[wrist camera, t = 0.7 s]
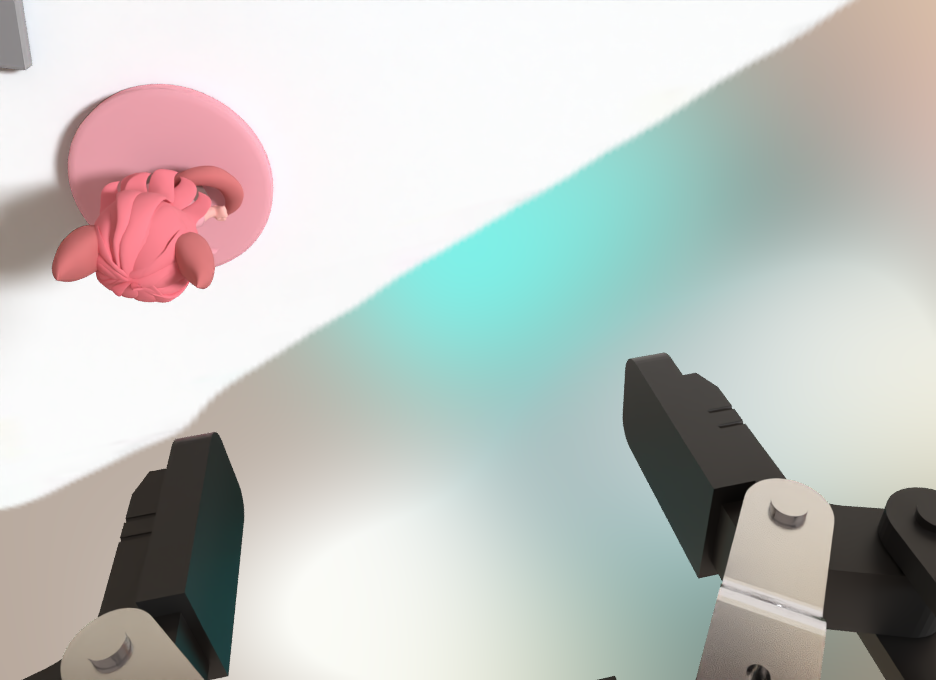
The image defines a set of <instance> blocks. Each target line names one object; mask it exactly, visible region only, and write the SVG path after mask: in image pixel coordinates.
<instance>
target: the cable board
mask: <svg viewBox="0 0 936 680" xmlns="http://www.w3.org/2000/svg"><path fill="white" fill-rule="evenodd" d="M30 66H32V60H31V53H30V47H29V40H28V34H27V27H26V21H25V14H24V8H23V2H22V0H0V67H1V68H10V69H18V70H26V69H28V68H29V67H30Z"/></svg>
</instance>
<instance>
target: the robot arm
mask: <svg viewBox="0 0 936 680" xmlns="http://www.w3.org/2000/svg"><path fill="white" fill-rule="evenodd" d="M623 426H624V431H625V436H626V439H627V442H628V445H629V447H630V449H631V451H632V453H633V454H634V456H635V458H636V460H637V462H638V464H639V466H640V468H641V470H642V472H643V474H644V476H645V478H646V479H647V481H648V483H649V485H650V487H651V489H652V491H653V493H654V495H655V496H656V498H657V500H658V502H659V504H660V506H661V508H662V510H663V512H664V514H665V516H666V518H667V519H668V521H669V523H670V525H671V527H672V529H673V531H674V533H675V535H676V536H677V538H678V540H679V542H680V544H681V546H682V548H683V550H684V552H685V554H686V556H687V558H688V559H689V561H690V563H691V565H692V567H693V569H694V571H695V572H696V575H697V577H698V578H702V577H707V576H712V575H716V574H719V576H720V578H721V580H722V584H721V586H720V589H719V593H718V596H717V600H716V604H715V608H714V612H713V615H712V619H711V623H710V627H709V631H708V635H707V639H706V643H705V646H704V650H703V654H702V658H701V662H700V666H699V669H698V673H697V677H696V680H820V677H821V668H822V660H823V652H824V644H825V635H826V629H831V630H841V631H850V632H857V634H858V635H859V637H860V639H861V640H862V642H863V643H864V645H865V647H866V648H867V650H868V651H869V653H870V655H871V656H872V658H873V660H874V661H875V663H876V664H877V666H878V668H879V669H880V671H881V673H882V674H883V676H884V677H885V679H886V680H936V490H933V489H928V488H906V489H902V490H900V491H897V492H895V493H894V494H892V495H891V496H890V498H889V499H888V501H887V504H886V506H885V509H880V508H866V507H852V506H840V505H833V504H829V503H828V502H827V501H826V500H825V498H824V497H823V496H822V495H821V494H819V493H818V492H817V491H815V490H814V489H812V488H810V487H809V486H807V485H804V484H802V483H799V482H796V481H793V480H788V479H786V478H785V476H784V475H783V474H782V472H781V471H780V470H779V468H778V467H777V466H776V464H775V463H774V462H773V460H772V459H771V458H770V456H769V455H768V454H767V452H766V451H765V450H764V448H763V447H762V446H761V444H760V443H759V442H758V440H757V439H756V437H755V436H754V435H753V433H752V432H751V431H750V429H749V428H748V427H747V425H746V424H743V421H742V419H741V417H740V416H739V415H738V413H737V412H736V411H735V409H732V406H731V404H730V403H729V401H728V400H727V399H726V397H725V396H724V395H723V393H722V392H721V391H720V389H719V388H718V387H717V386H715V385H714V384H712V383H711V382H709V381H708V380H706V379H705V378H703V377H701V376H700V375H699V374H697V373H693V374H687V375H682V373H681V372H680V370H679V369H678V367H677V366H676V365H675V363H674V362H673V360H672V359H671V357H670V356H669V355H668V354H666V353H659V354H655V355H648V356H643V357H637V358H632V359H628V361H627V363H626V368H625V384H624V402H623ZM243 525H244V504H243V498H242V493H241V489H240V486H239V483H238V481H237V478H236V476H235V473H234V471H233V468H232V466H231V463H230V461H229V458H228V456H227V453H226V450H225V448H224V445H223V443H222V440H221V438H220V436H219V435H218V433H216V432H212V433H207V434H201V435H196V436H190V437H185V438H180V439H175V441H174V442H173V444H172V447H171V452H170V456H169V460H168V465H167V469H161V470H156V471H150V472H149V473H148V474H147V476H146V477H145V478H144V480H143V481H142V482H141V483H140V485H139V486H138V488H137V489H136V490H135V492H134V493H133V494H132V497H131V500H130V504H129V508H128V511H127V515H126V523H124V526H123V529H122V533H121V537H120V538H121V542H119V544H118V547H117V551H116V555H115V558H114V562H113V565H112V569H111V573H110V576H109V580H108V584H107V587H106V591H105V594H104V598H103V602H102V605H101V609H100V613H99V615H98V618H96V619H95V620H93V621H92V622H90V623H89V624H87V625H86V626H85V627H84V628H83V629H82V630H81V631H80V632H79V633H78V634H76V636H75V637H74V638H73V640H72V641H71V642H70V644H69V645H68V647H67V648H66V651H65V653H64V655H63V658H62V659H61V660H60V661H58V662H57V663H55V664H54V665H52V666H50V667H48V668H46V669H44V670H42V671H40V672H38V673H35V674H33V675H31V676H29V677H27V678H25V679H23V680H212V679H216V678H222V677H226V676H228V674H229V664H230V654H231V644H232V634H233V624H234V614H235V605H236V594H237V585H238V575H239V565H240V555H241V545H242V535H243ZM599 680H616V677H615V676H612V677H608V678H603V679H599Z"/></svg>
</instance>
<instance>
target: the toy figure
mask: <svg viewBox="0 0 936 680" xmlns="http://www.w3.org/2000/svg"><path fill="white" fill-rule="evenodd" d="M68 178H69V183H70V188H71V191H72V194H73V197H74V200H75V202H76V204H77V206H78V208H79V210H80V212H81V214H82V215H83V217H84V218H85V220H86V221H87V222H88V224H89V225H86V226H82V227H79V228H77V229H75V230H74V231H72V232H71V233H70V234H69V235H68V236H67V237H66V238H65V239H64V240H63V241H62V242H61V244H60V245H59V247H58V249H57V251H56V254H55V257H54V260H53V264H52V273H53V276H54V278H55V279H56V280H57V281H63V282H71V281H76V280H79V279H82V278H85V277H87V276H88V275H90V274H92V273H94V272H96V276H97V279H98V280H99V282H100V283H101V284H102V285H104V286H105V287H106V288H107V289H109V290H111V291H113V292H114V293H115V294H116V295H117V296H121V295H122V296H123V297H126V298H134V299H136V300H138V301H143V302H162V303H163V302H169V301H171V300H173V299H174V298H176V297H178V296H179V295H180V294H181V293H182V292H183V291H184V290H185V288H186V287H187V285H188V284H189V282H190V283H192V284H193V285H194V286H196V288H200V289H205V288H207V287H208V286H209V285H210V284H211V282H212V280H213V276H214V270H215V267H216V266H219V265H222V264H224V263H227V262H229V261H231V260H233V259H234V258H236V257H238V256H239V255H241V254H242V253H243V252H245V251H246V250H247V249H248V248H249V247H250V246H251V245H252V244H253V243H254V242H255V241H256V240H257V238H258V237H259V236H260V234H261V233H262V231H263V229H264V227H265V225H266V223H267V221H268V218H269V215H270V211H271V206H272V196H273V178H272V171H271V167H270V163H269V160H268V158H267V155H266V152H265V150H264V148H263V146H262V144H261V143H260V141H259V139H258V138H257V136H256V135H255V133H254V132H253V131H252V129H251V128H250V127H249V126H248V125H247V123H246V122H245V121H244V120H243V119H242V118H241V117H240V116H239V115H237V114H236V113H235V112H234V111H233V110H231V109H230V108H229V107H227V106H226V105H224V104H223V103H221V102H220V101H218V100H216V99H214V98H212V97H210V96H208V95H206V94H204V93H201V92H198V91H196V90H193V89H189V88H185V87H181V86H175V85H166V84H150V85H141V86H136V87H132V88H129V89H126V90H123V91H120V92H118V93H116V94H114V95H112V96H110V97H109V98H107V99H105V100H104V101H103V102H101V103H100V104H99V105H98V106H96V107H95V108H94V109H93V111H92V112H91V113H90V114H89V115H88V116H87V117H86V118H85V119H84V120H83V122H82V123H81V124H80V126H79V128H78V129H77V131H76V133H75V135H74V137H73V140H72V143H71V146H70V150H69V156H68Z"/></svg>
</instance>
